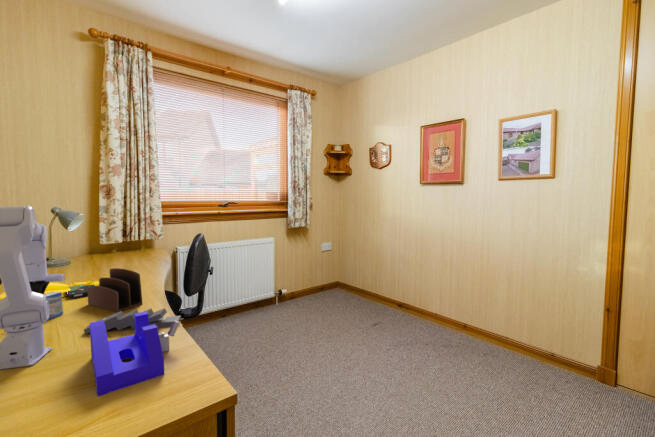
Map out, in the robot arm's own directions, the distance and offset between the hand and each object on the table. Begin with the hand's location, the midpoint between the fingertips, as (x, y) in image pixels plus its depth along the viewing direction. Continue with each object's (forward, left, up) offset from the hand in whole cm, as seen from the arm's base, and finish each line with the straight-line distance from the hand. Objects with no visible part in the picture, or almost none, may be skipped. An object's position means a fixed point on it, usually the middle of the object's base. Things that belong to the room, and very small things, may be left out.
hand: (37, 304), depth 98 cm
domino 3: (+1, -22, -10) cm, 24 cm away
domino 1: (+1, -13, -10) cm, 16 cm away
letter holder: (+27, -13, -11) cm, 31 cm away
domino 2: (+1, -18, -10) cm, 20 cm away
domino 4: (0, -26, -10) cm, 28 cm away
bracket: (-27, -31, -11) cm, 43 cm away
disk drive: (+48, +7, -11) cm, 50 cm away
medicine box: (+18, +6, -11) cm, 21 cm away
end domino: (0, -31, -10) cm, 32 cm away
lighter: (-20, -40, -11) cm, 46 cm away
